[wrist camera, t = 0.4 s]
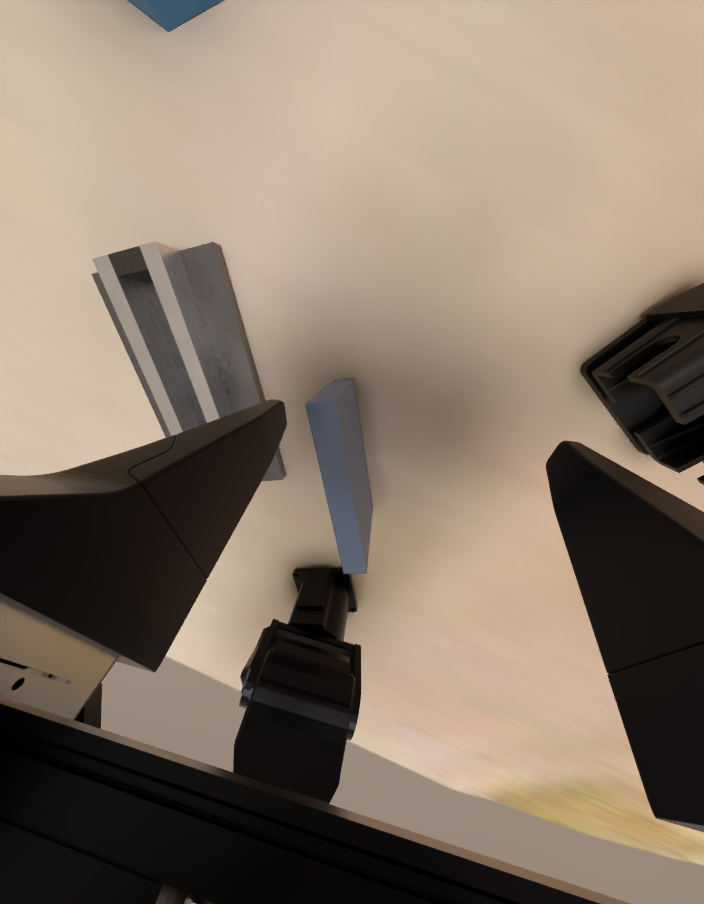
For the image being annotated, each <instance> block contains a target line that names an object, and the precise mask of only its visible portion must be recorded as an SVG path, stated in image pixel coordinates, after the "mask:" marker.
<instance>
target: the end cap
mask: <svg viewBox="0 0 704 904" xmlns="http://www.w3.org/2000/svg"><path fill="white" fill-rule="evenodd" d="M581 374H582V375H583V376H584V378H585V379H586V381H587V382H588V383H589V385H590V386H591V387H592V389H593V390H594V392H595V393H596V394H597V396H598V397H599V398H600V400H601V401H602V402H603V404H604V405H605V407H606V408H607V409H608V411H609V412H610V413H611V415H612V416H613V417H614V419H615V420H616V422H617V423H618V424H619V426H620V427H621V428H622V430H623V431H624V433H625V434H626V435H627V437H628V438H629V439H630V441H631V442H632V443H633V445H634V446H635V448H636V449H637V450H638V451H640V452H642V453H644V454H648V455H650V456H651V457H652V458H653V459H654V460H656V461H657V462H658V463H660V464H661V465H663V466H665V467H668V468H670V469H672V470H674V471H676V472H678V473H680V472H682V471H684V470H686V469H688V468H690V467H692V466H694V465H696V464H698V463H700V462H702V461H703V463H704V283H703V284H701V285H699V286H696V287H694V288H692V289H690V290H688V291H686V292H684V293H682V294H681V295H679V296H677V297H675V298H673V299H671V300H670V301H668V302H666V303H665V304H663V305H661V306H660V307H658V308H657V309H655V310H654V311H652V312H651V313H649V314H648V315H646V319H644V320H642V321H641V322H639V323H638V324H636V325H635V326H633V327H632V328H631V329H629V330H628V331H627V332H625V333H624V334H622V335H621V336H620V337H618V338H617V339H616V340H614V341H613V342H612V343H610V344H609V345H607V346H606V347H605V348H603V349H602V350H601V351H599V352H598V353H596V354H595V355H594V356H592V357H591V358H590V359H588V360H587V361H586V362H585V363H584V364H583V365H582V367H581ZM697 479H698V481H699V482H700V483H701V484H703V485H704V475H703V476H701V477H699V478H697Z"/></svg>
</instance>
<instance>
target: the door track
mask: <svg viewBox="0 0 704 904" xmlns="http://www.w3.org/2000/svg"><path fill="white" fill-rule="evenodd" d="M93 262H94V264H95V266H96V268H97V271H98V273H94V274H92V276H93V278H94V281H95V283H96V285H97V287H98V289H99V292H100V294H101V296H102V298H103V300H104V303H105V305H106V307H107V309H108V311H109V314H110V316H111V318H112V320H113V322H114V324H115V327H116V329H117V331H118V333H119V335H120V338H121V340H122V342H123V344H124V346H125V349H126V351H127V353H128V355H129V357H130V360H131V362H132V364H133V366H134V368H135V371H136V373H137V375H138V377H139V379H140V382H141V384H142V386H143V388H144V390H145V393H146V395H147V397H148V399H149V401H150V403H151V406H152V408H153V410H154V412H155V414H156V417H157V419H158V421H159V423H160V425H161V428H162V430H163V432H164V434H165V436H166V438H167V437H170V436H172V435H177V434H178V433H181V432H184V431H186V430H189V429H192V428H194V427H197V426H200V425H203V424H205V423H208V422H211V421H214V420H216V419H219V418H222V417H224V416H227V415H230V414H233V413H235V412H238V411H241V410H244V409H246V408H249V407H252V406H254V405H257V404H260V403H263V402H265V400H264V397H263V393H262V390H261V386H260V383H259V379H258V376H257V372H256V369H255V365H254V362H253V358H252V355H251V351H250V348H249V344H248V341H247V337H246V334H245V330H244V327H243V323H242V320H241V316H240V313H239V309H238V306H237V302H236V299H235V295H234V292H233V288H232V285H231V281H230V278H229V274H228V271H227V267H226V264H225V260H224V257H223V253H222V250H221V246H220V245H218V244H216V243H214V242H212V243H208V244H204V245H200V246H197V247H193V248H189V249H185V250H181V251H178V250H176V249H173V248H171V247H168V246H166V245H163V244H161V243H158V242H152V243H148V244H145V245H141V246H138V247H134V248H130V249H127V250H123V251H119V252H116V253H112V254H109V255H105V256H101V257H98V258H94V259H93ZM285 476H286V474H285V470H284V467H283V463H282V460H281V456H280V453H279V449H277V451H276V454H275V456H274V458H273V461H272V463H271V465H270V466H269V468H268V470H267V472H266V474H265V475H264V477H263V479H262V481H270V480H282V479H284V477H285Z"/></svg>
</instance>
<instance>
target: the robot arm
mask: <svg viewBox="0 0 704 904" xmlns="http://www.w3.org/2000/svg"><path fill="white" fill-rule="evenodd" d="M286 425H287V420H286V413H285V406H284V403H283V402H282V401H280V400H273V399H271V400H268V401H265V402H263V403H260V404H257V405H254V406H252V407H249V408H246V409H244V410H241V411H238V412H235V413H233V414H230V415H227V416H224V417H222V418H219V419H216V420H214V421H211V422H208V423H205V424H203V425H200V426H197V427H194V428H192V429H189V430H186V431H184V432H181V433H178V434H177V435H172V436H170V437H167V438H164V439H162V440H159V441H156V442H153V443H150V444H147V445H144V446H141V447H138V448H135V449H132V450H129V451H126V452H123V453H120V454H116V455H113V456H110V457H107V458H104V459H100V460H97V461H94V462H91V463H87V464H84V465H81V466H78V467H75V468H71V469H68V470H64V471H61V472H56V473H51V474H44V475H34V476H12V475H0V904H190V903H196V904H630V903H627V902H624V901H621V900H618V899H615V898H612V897H609V896H606V895H603V894H600V893H597V892H594V891H591V890H588V889H585V888H582V887H579V886H576V885H573V884H570V883H567V882H563V881H561V880H557V879H554V878H551V877H548V876H545V875H542V874H539V873H536V872H533V871H530V870H527V869H524V868H521V867H518V866H515V865H512V864H509V863H506V862H503V861H499V860H497V859H494V858H490V857H488V856H485V855H482V854H479V853H476V852H473V851H469V850H466V849H463V848H460V847H457V846H454V845H451V844H448V843H445V842H442V841H439V840H436V839H433V838H430V837H427V836H424V835H421V834H418V833H415V832H412V831H409V830H406V829H402V828H400V827H396V826H393V825H390V824H388V823H384V822H381V821H378V820H375V819H372V818H369V817H366V816H363V815H360V814H357V813H354V812H351V811H348V810H345V809H342V808H339V807H336V806H333V805H330V804H329V803H330V801H331V799H332V797H333V795H334V793H335V791H336V789H337V787H338V785H339V779H340V773H341V767H342V762H343V756H344V750H345V745H346V740H351V739H352V737H353V734H354V731H355V728H356V724H357V719H358V714H359V708H360V699H361V646H360V645H357V644H355V645H353V644H350V643H347V642H344V634H345V627H346V620H347V614H348V612H356V611H357V603H356V598H355V593H354V589H353V584H352V579H351V574H344V572H343V568H331V569H295V570H294V572H293V578H294V581H295V584H296V587H297V590H298V593H299V594H298V597H297V599H296V602H295V605H294V608H293V611H292V614H291V617H290V620H289V622H288V624H285V623H282V622H279V620H276V619H273V621H272V623H271V626H270V627H269V626H268V627H267V628H264V629H263V632H262V634H261V637H260V639H259V641H258V643H257V646H256V648H255V650H254V651H253V653H252V655H251V657H250V658H249V660H248V662H247V664H246V665H245V667H244V669H243V671H242V674H241V677H240V678H241V681H242V685H243V688H242V691H241V693H242V696H241V700H240V704H239V706H241V707H244V708H246V711H245V714H244V717H243V720H242V723H241V726H240V729H239V732H238V734H237V737H236V740H235V744H234V769H233V772H230V771H226V770H224V769H221V768H217V767H214V766H211V765H208V764H205V763H202V762H199V761H196V760H193V759H190V758H187V757H184V756H181V755H178V754H175V753H172V752H169V751H166V750H163V749H160V748H156V747H154V746H151V745H148V744H145V743H141V742H139V741H135V740H133V739H130V738H127V737H123V736H120V735H117V734H114V733H111V732H108V731H105V730H102V729H101V699H102V684H101V682H102V680H103V679H104V678H105V676H106V675H107V673H108V672H109V671H110V669H111V668H112V666H113V665H114V664H115V662H116V661H117V662H121V663H124V664H127V665H131V666H134V667H138V668H141V669H145V670H148V671H152V672H156V670H157V669H158V667H159V666H160V664H161V662H162V661H163V659H164V657H165V655H166V653H167V652H168V650H169V648H170V646H171V644H172V642H173V641H174V639H175V637H176V635H177V633H178V632H179V630H180V628H181V626H182V624H183V623H184V621H185V619H186V617H187V615H188V614H189V612H190V610H191V608H192V606H193V604H194V603H195V601H196V599H197V597H198V595H199V594H200V592H201V590H202V588H203V586H204V585H205V583H206V581H207V578H208V577H209V575H210V573H211V571H212V570H213V568H214V566H215V564H216V562H217V561H218V559H219V557H220V555H221V553H222V552H223V550H224V548H225V546H226V544H227V543H228V541H229V539H230V537H231V535H232V533H233V532H234V530H235V528H236V526H237V524H238V523H239V521H240V519H241V517H242V515H243V514H244V512H245V510H246V508H247V506H248V504H249V503H250V501H251V499H252V497H253V495H254V494H255V492H256V490H257V488H258V486H259V485H260V483H261V481H262V479H263V477H264V475H265V474H266V472H267V470H268V468H269V466H270V465H271V463H272V461H273V458H274V456H275V454H276V451H277V449H278V446H279V444H280V441H281V439H282V436H283V434H284V431H285V429H286ZM546 470H547V476H548V481H549V486H550V492H551V497H552V502H553V507H554V511H555V514H556V517H557V520H558V524H559V527H560V530H561V533H562V536H563V539H564V542H565V545H566V548H567V551H568V554H569V557H570V560H571V564H572V567H573V570H574V573H575V576H576V579H577V582H578V585H579V588H580V591H581V594H582V597H583V601H584V604H585V607H586V610H587V613H588V616H589V619H590V622H591V625H592V628H593V631H594V634H595V637H596V641H597V644H598V647H599V650H600V653H601V656H602V659H603V662H604V665H605V668H606V671H607V673H608V678H609V681H610V684H611V687H612V691H613V694H614V697H615V700H616V703H617V706H618V709H619V712H620V715H621V718H622V721H623V725H624V728H625V731H626V734H627V737H628V740H629V743H630V746H631V749H632V752H633V755H634V758H635V762H636V765H637V768H638V771H639V774H640V777H641V780H642V783H643V786H644V789H645V792H646V796H647V799H648V801H649V804H650V807H651V809H652V811H653V814H654V816H655V817H656V818H657V819H660V820H664V821H667V822H670V823H674V824H677V825H681V826H684V827H688V828H691V829H695V830H698V831H701V832H704V512H702V511H701V510H699V509H697V508H695V507H694V506H692V505H690V504H688V503H686V502H685V501H683V500H681V499H679V498H677V497H676V496H674V495H672V494H670V493H668V492H667V491H665V490H663V489H661V488H660V487H658V486H656V485H654V484H652V483H651V482H649V481H647V480H645V479H643V478H642V477H640V476H638V475H636V474H634V473H633V472H631V471H629V470H627V469H626V468H624V467H622V466H620V465H618V464H617V463H615V462H613V461H611V460H609V459H608V458H606V457H604V456H602V455H600V454H599V453H597V452H595V451H593V450H592V449H590V448H588V447H586V446H584V445H583V444H581V443H578V442H572V441H562V442H561V443H559V445H558V446H557V447H556V449H555V450H554V452H553V453H552V455H551V456H550V457H549V459H548V461H547V463H546Z"/></svg>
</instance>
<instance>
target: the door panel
mask: <svg viewBox="0 0 704 904" xmlns="http://www.w3.org/2000/svg"><path fill="white" fill-rule="evenodd" d="M305 405H306V409H307V414H308V418H309V423H310V427H311V432H312V436H313V440H314V445H315V449H316V454H317V458H318V462H319V467H320V471H321V476H322V480H323V484H324V489H325V493H326V498H327V502H328V506H329V511H330V515H331V520H332V524H333V528H334V533H335V537H336V542H337V546H338V550H339V555H340V559H341V564H342V568H343V572H344V574H361V573H367V564H368V553H369V542H370V531H371V521H372V510H373V503H372V496H371V489H370V483H369V476H368V469H367V463H366V456H365V449H364V442H363V436H362V429H361V422H360V416H359V409H358V402H357V396H356V389H355V382H354V378H348V379H341V380H334V381H333V382H332V383H330V384H329V385H328V386H327V387H326V388H324V389H323V390H322V391H321V392H319V393H318V394H317V395H316V396H315V397H313V398H312V399H311V400H310V401H309V402H307V403H306V404H305Z"/></svg>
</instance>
